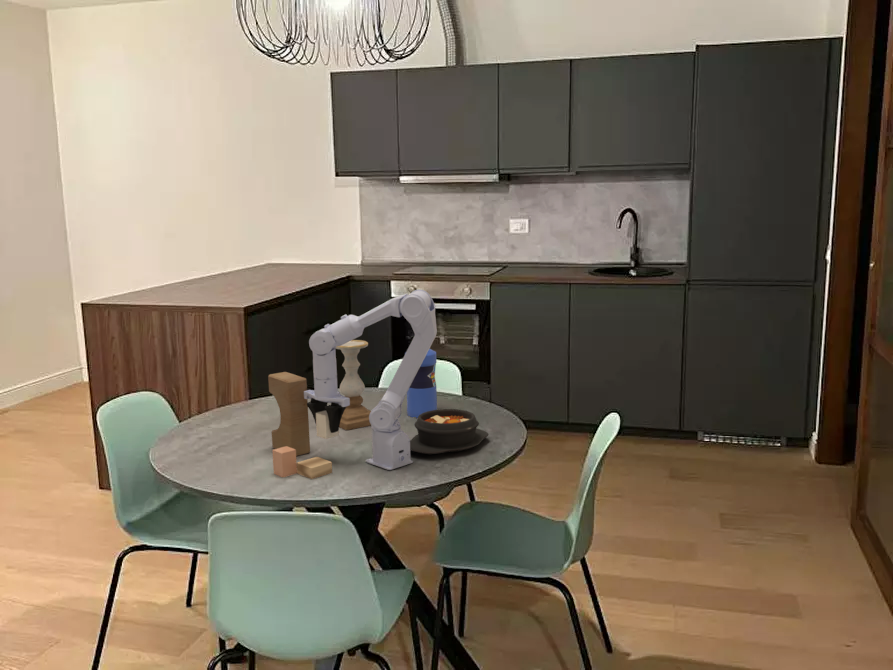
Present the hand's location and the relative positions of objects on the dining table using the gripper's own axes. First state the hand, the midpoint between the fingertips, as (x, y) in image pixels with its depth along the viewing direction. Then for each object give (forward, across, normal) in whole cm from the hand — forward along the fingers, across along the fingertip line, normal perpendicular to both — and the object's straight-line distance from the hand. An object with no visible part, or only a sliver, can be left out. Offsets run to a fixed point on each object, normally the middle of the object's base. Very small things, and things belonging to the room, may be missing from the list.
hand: (327, 430), depth 203 cm
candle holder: (+8, +19, -28) cm, 34 cm away
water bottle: (+8, +8, -46) cm, 48 cm away
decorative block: (+8, +14, 0) cm, 16 cm away
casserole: (+8, -17, -26) cm, 32 cm away
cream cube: (+1, 0, 0) cm, 1 cm away
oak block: (+8, -4, +8) cm, 12 cm away
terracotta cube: (+8, +2, +13) cm, 15 cm away
